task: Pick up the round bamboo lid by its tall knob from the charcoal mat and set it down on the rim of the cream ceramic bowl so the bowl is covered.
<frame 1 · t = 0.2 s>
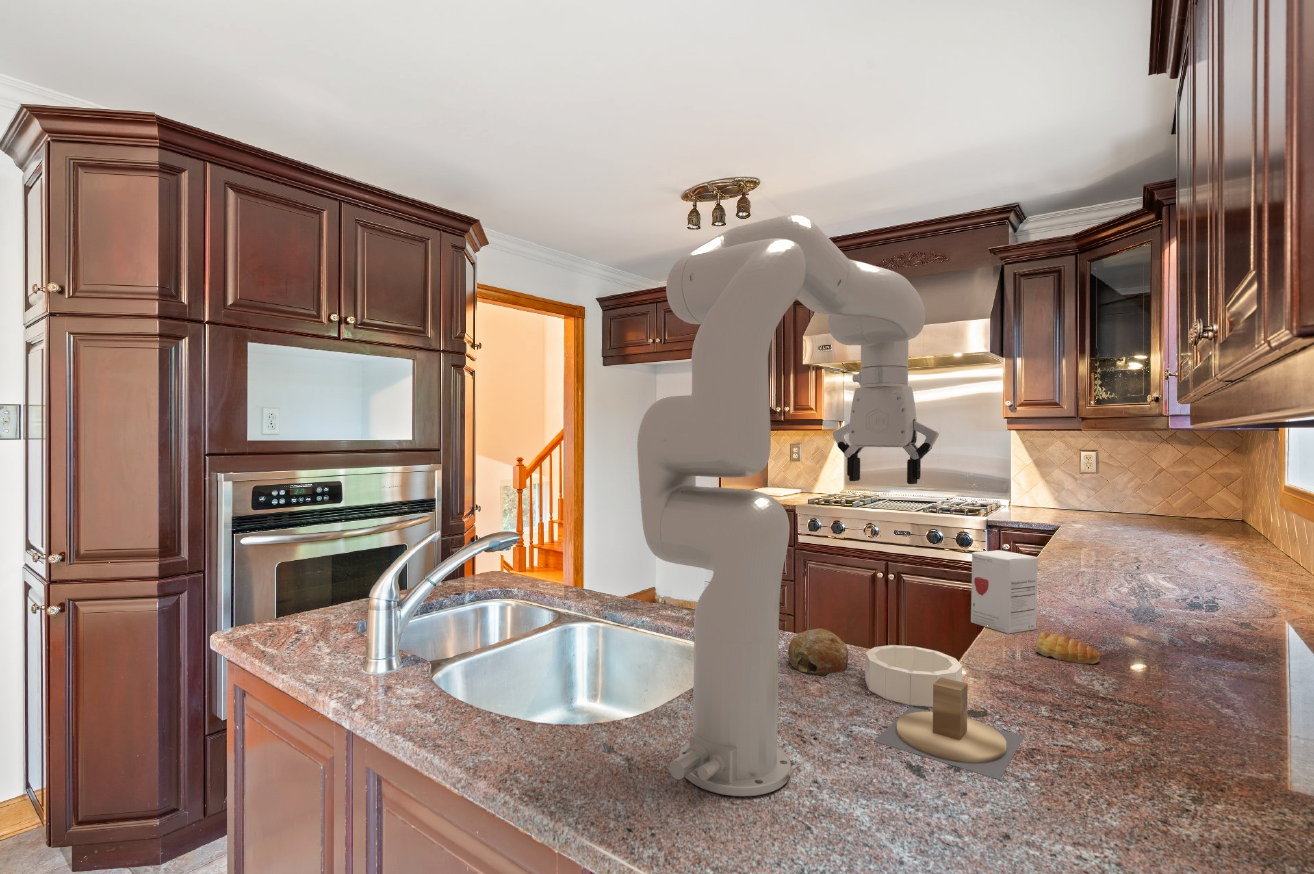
hand: (882, 482, 108), 31 cm above the countertop, tool pointing down, fingers open, 9 cm apart
supplement box: (1003, 627, 135), on the countertop
bread roll: (818, 667, 109), on the countertop
pastry: (1063, 658, 116), on the countertop
bowl: (912, 692, 98), on the countertop
mat: (949, 743, 81), on the countertop
lid: (949, 738, 81), point 1 cm above the countertop, touching mat
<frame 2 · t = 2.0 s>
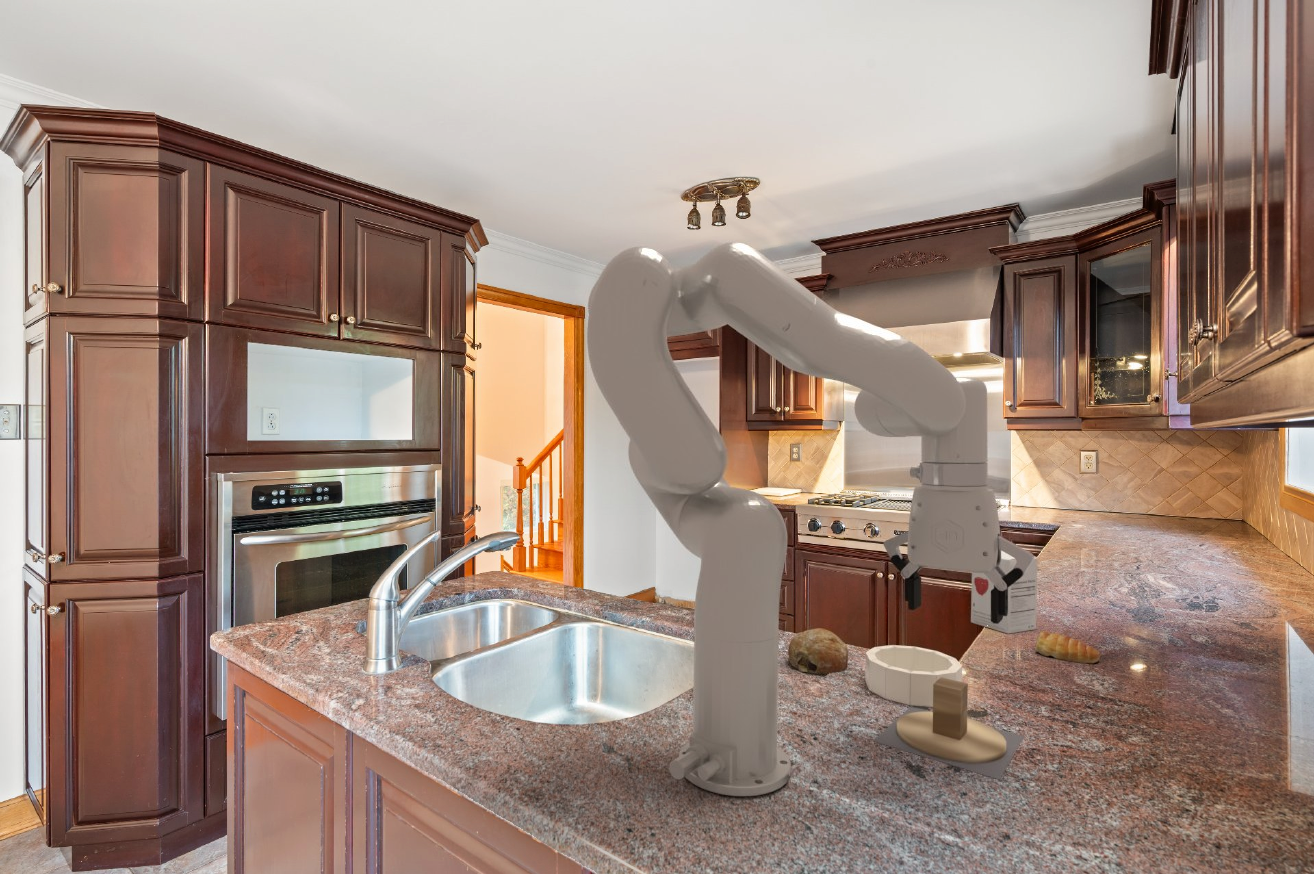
hand: (954, 614, 81), 16 cm above the countertop, tool pointing down, fingers open, 9 cm apart
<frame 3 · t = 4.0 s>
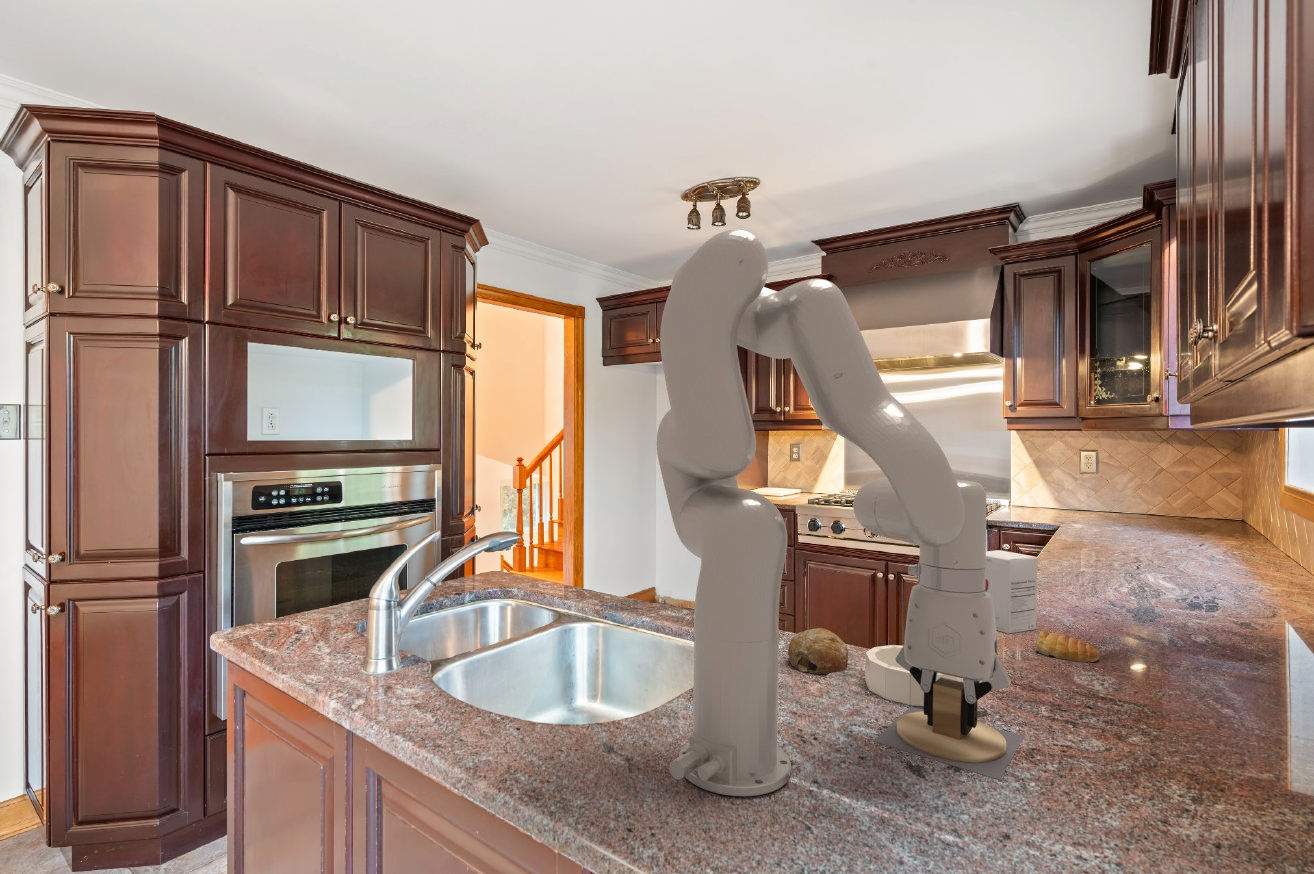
hand: (949, 725, 81), 2 cm above the countertop, tool pointing down, fingers closed on lid, 3 cm apart
lid: (949, 738, 81), point 1 cm above the countertop, touching gripper, mat
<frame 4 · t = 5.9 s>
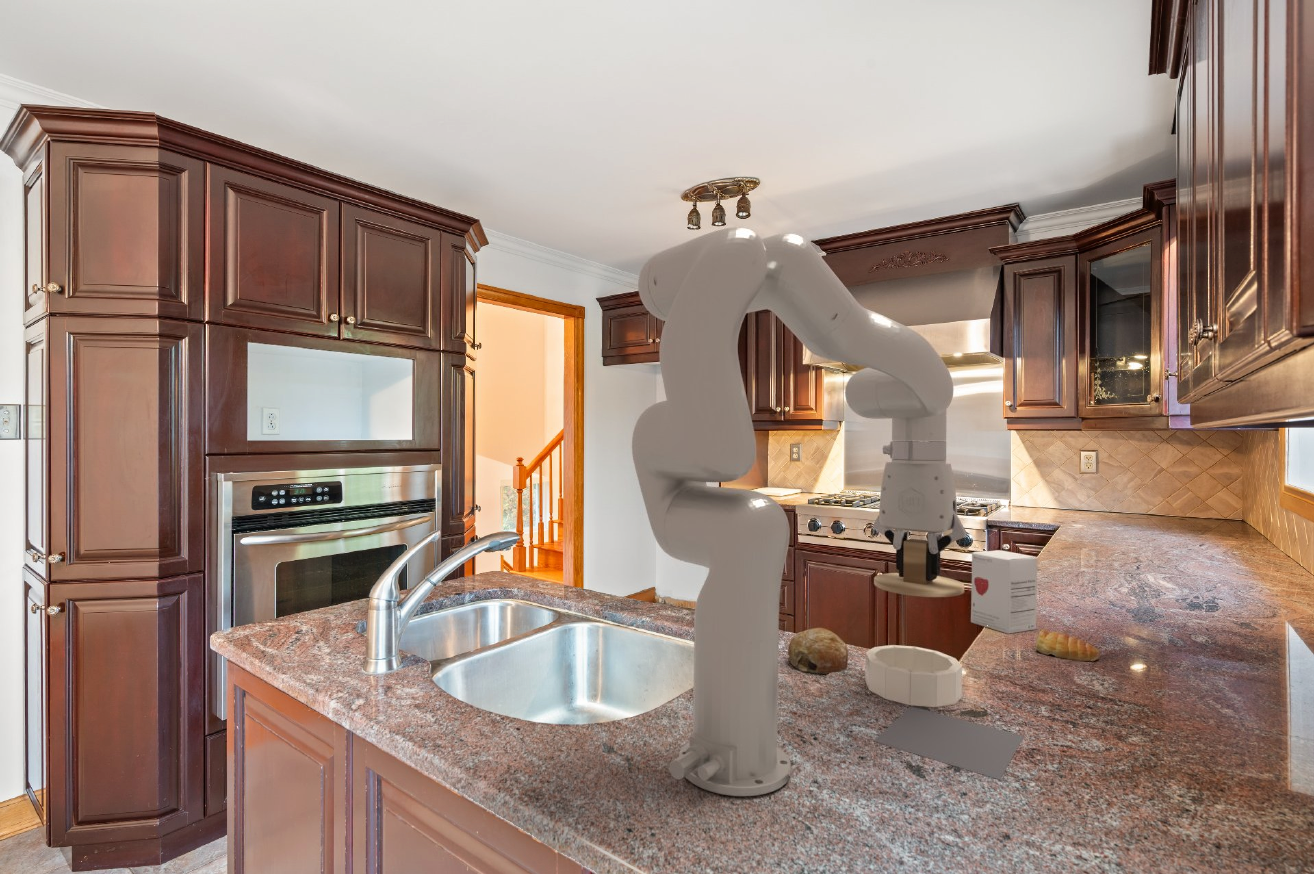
hand: (917, 576, 96), 18 cm above the countertop, tool pointing down, fingers closed on lid, 3 cm apart
lid: (918, 586, 96), point 16 cm above the countertop, touching gripper
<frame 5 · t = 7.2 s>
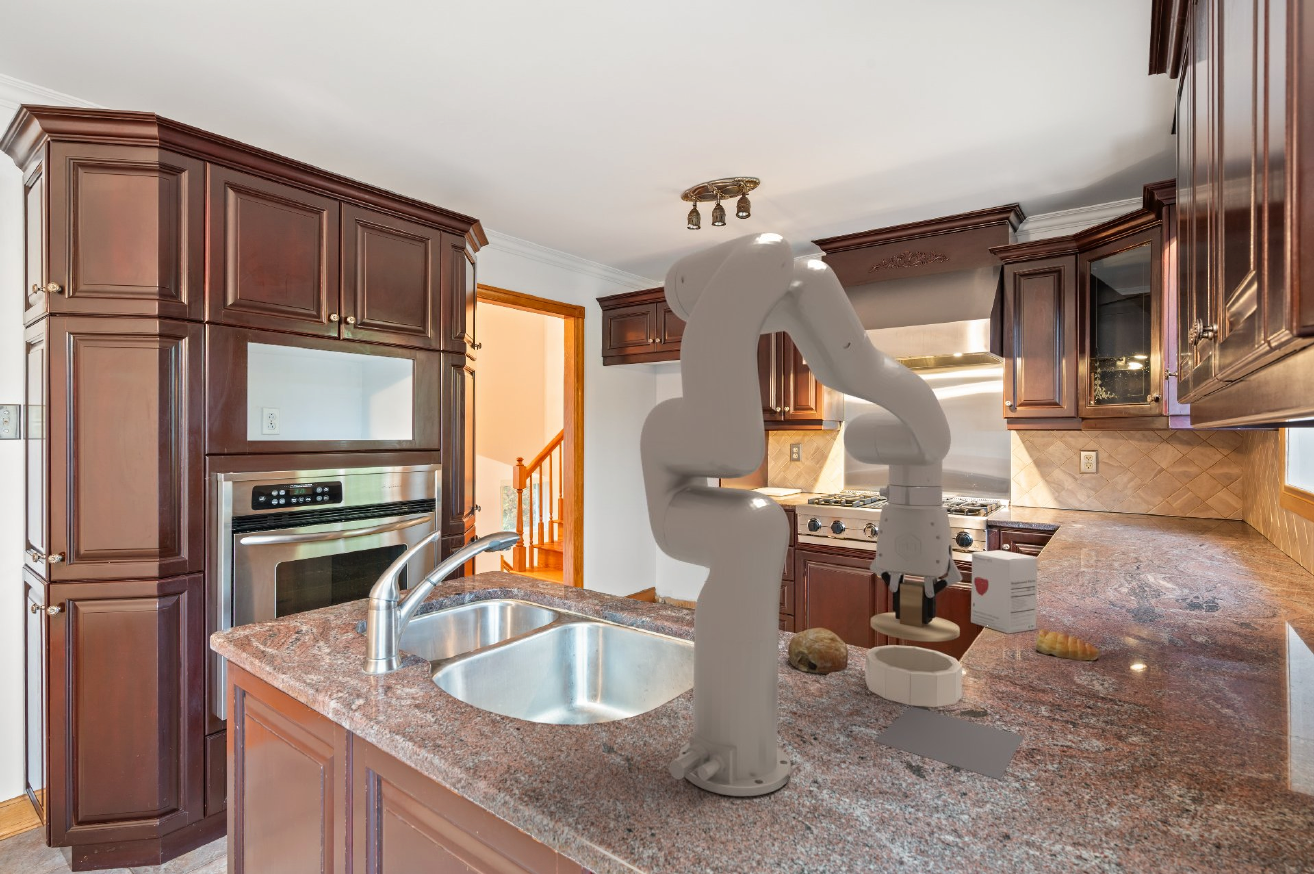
hand: (914, 618, 98), 11 cm above the countertop, tool pointing down, fingers closed on lid, 3 cm apart
lid: (914, 628, 98), point 9 cm above the countertop, touching gripper
when the fingers open (8 cm above the countertop, at t = 8.1 s): lid stays where it is, resting on bowl.
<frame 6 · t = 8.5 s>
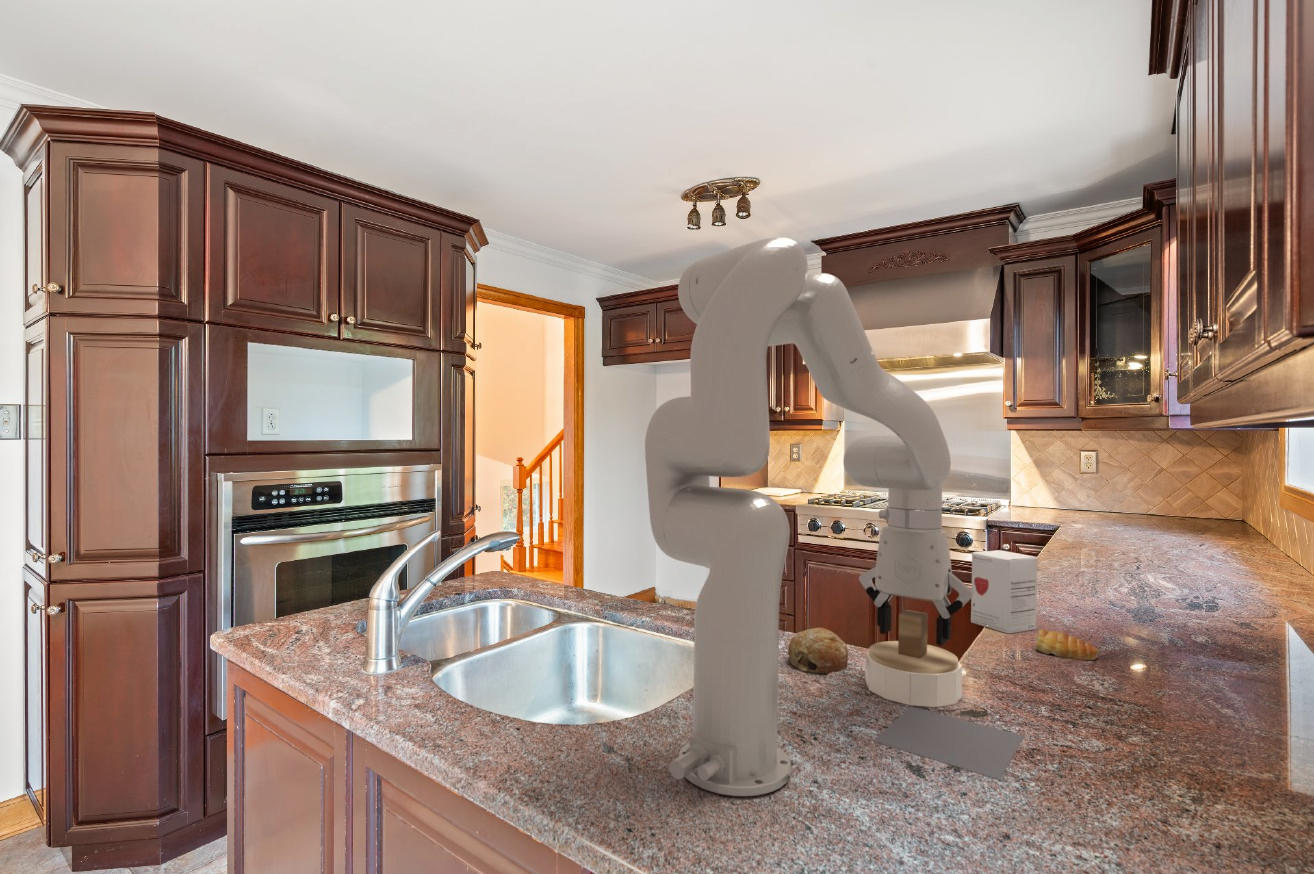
hand: (912, 636, 98), 8 cm above the countertop, tool pointing down, fingers open, 7 cm apart
lid: (912, 658, 98), point 5 cm above the countertop, touching bowl
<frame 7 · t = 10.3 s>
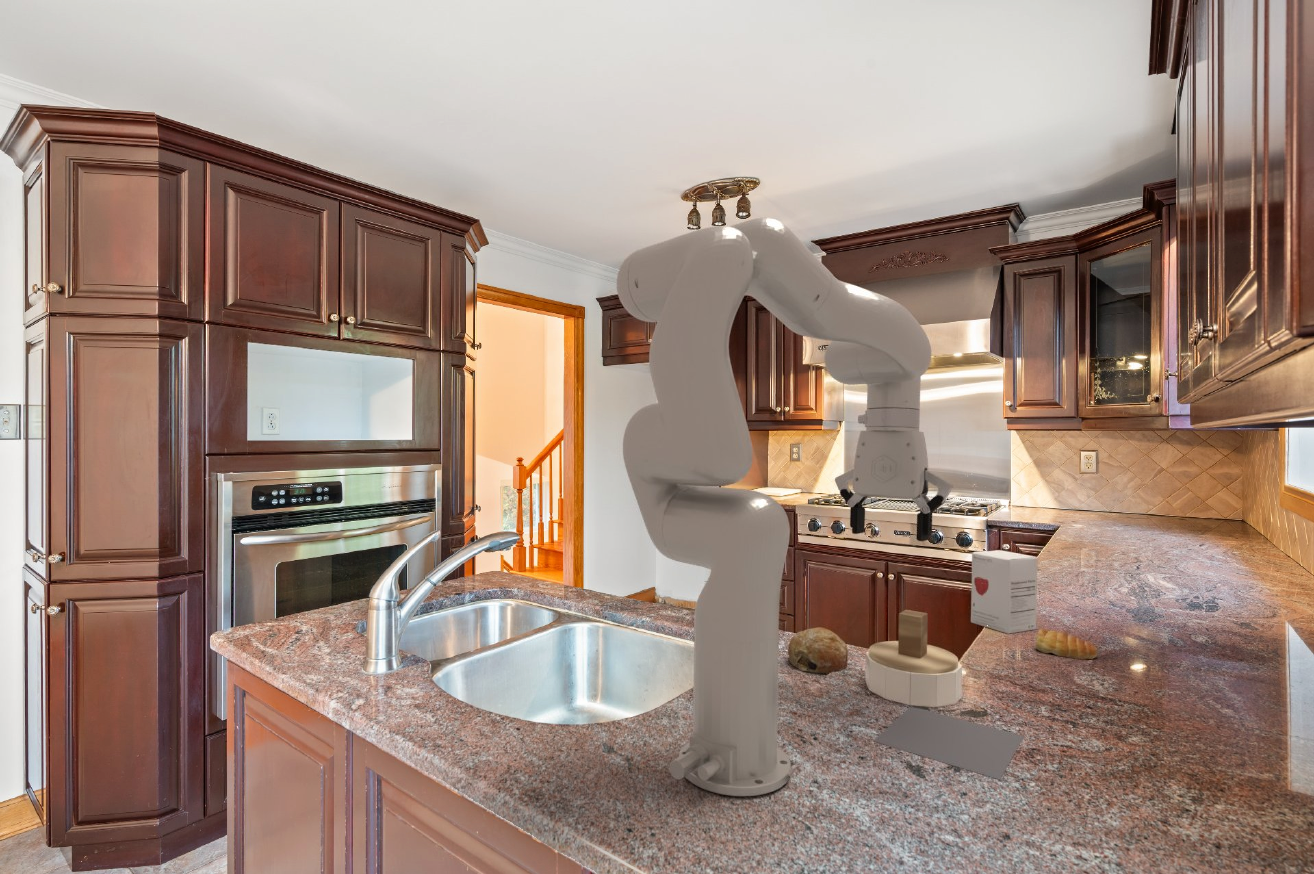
hand: (889, 536, 97), 23 cm above the countertop, tool pointing down, fingers open, 9 cm apart
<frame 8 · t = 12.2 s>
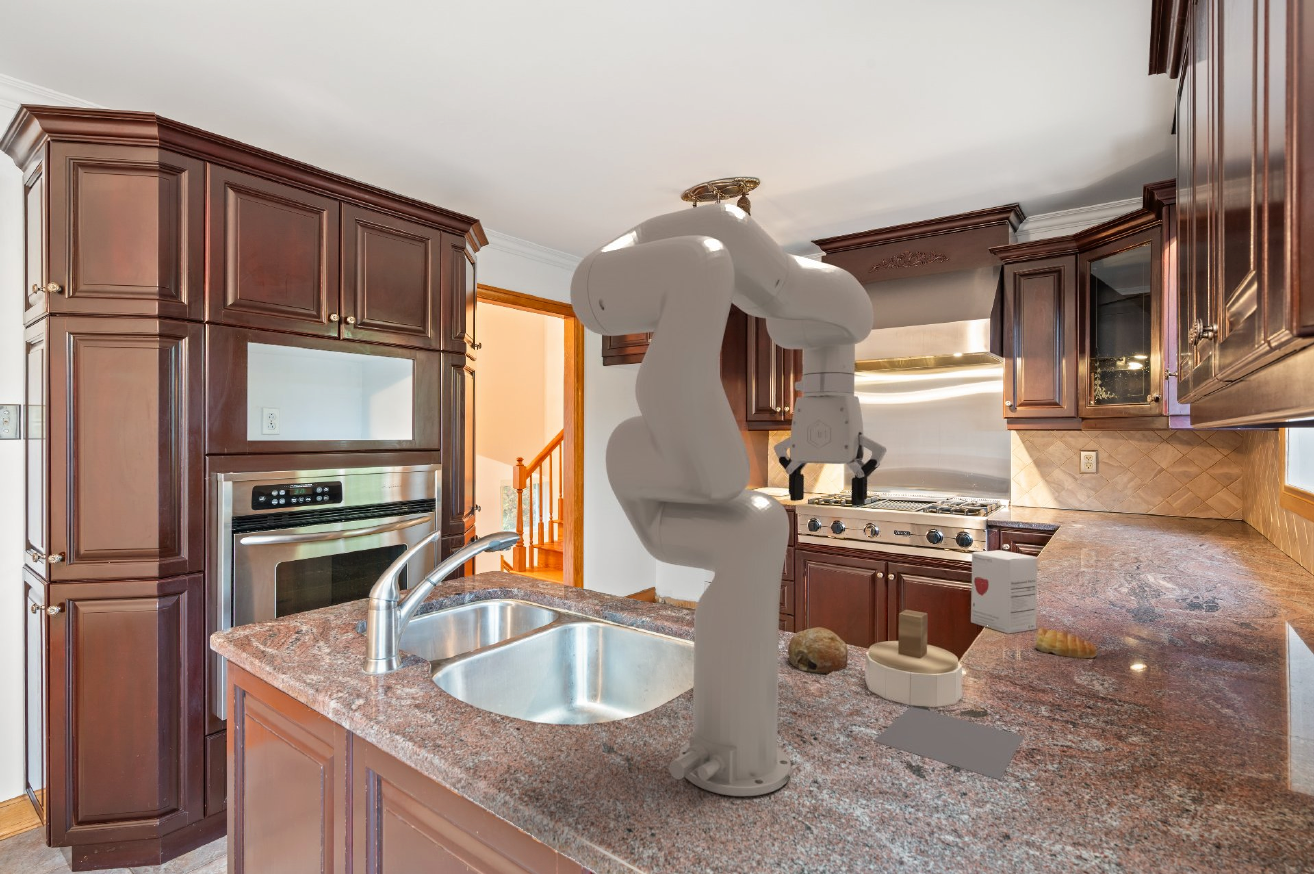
hand: (826, 502, 97), 28 cm above the countertop, tool pointing down, fingers open, 9 cm apart
at the end: lid 0.0 cm off-centre on the bowl, point 5.0 cm above the bowl's base; lid tilted 0°; the gripper is holding nothing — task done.
